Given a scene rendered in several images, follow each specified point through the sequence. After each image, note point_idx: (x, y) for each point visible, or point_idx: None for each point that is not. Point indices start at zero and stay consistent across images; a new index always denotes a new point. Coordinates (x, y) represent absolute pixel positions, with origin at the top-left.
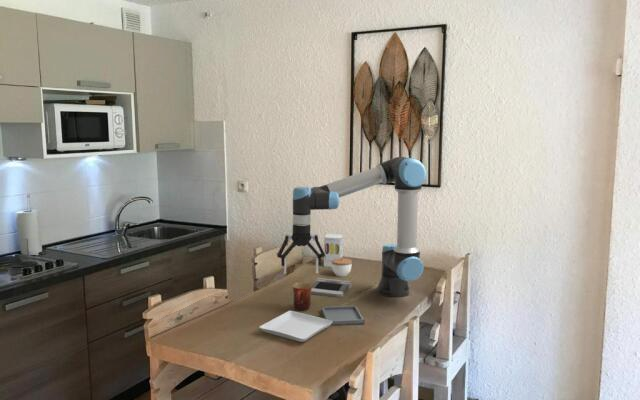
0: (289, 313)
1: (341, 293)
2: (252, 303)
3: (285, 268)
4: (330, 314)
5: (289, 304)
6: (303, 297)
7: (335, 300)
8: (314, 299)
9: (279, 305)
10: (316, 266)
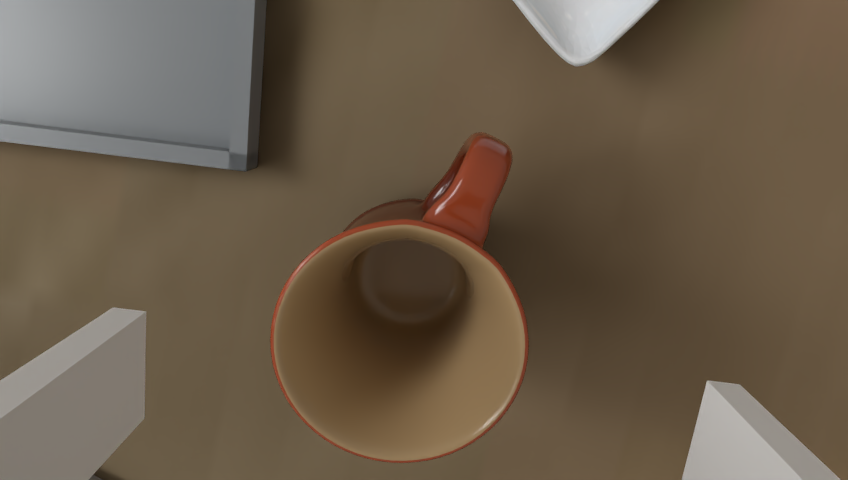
0: (590, 35)
1: None
2: None
3: (782, 441)
4: (197, 20)
5: None
6: (410, 217)
7: None
8: (262, 444)
9: (579, 374)
10: (65, 375)
